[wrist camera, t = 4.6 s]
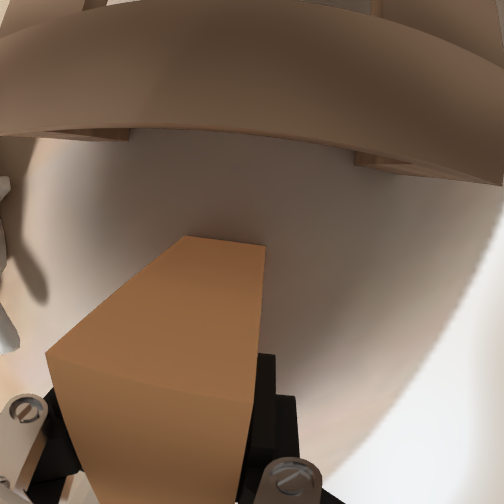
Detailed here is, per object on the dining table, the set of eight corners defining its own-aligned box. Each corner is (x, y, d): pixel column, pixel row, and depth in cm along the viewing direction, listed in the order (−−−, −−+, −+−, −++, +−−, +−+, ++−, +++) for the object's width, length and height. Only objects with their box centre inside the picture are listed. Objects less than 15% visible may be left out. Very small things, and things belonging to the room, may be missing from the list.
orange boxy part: (250, 357, 17) (227, 539, 6) (180, 346, 17) (102, 508, 6) (265, 246, 15) (253, 403, 5) (184, 235, 15) (45, 353, 5)
